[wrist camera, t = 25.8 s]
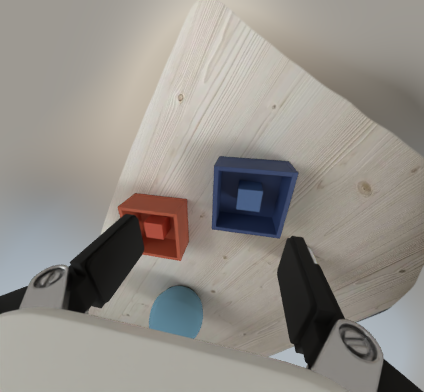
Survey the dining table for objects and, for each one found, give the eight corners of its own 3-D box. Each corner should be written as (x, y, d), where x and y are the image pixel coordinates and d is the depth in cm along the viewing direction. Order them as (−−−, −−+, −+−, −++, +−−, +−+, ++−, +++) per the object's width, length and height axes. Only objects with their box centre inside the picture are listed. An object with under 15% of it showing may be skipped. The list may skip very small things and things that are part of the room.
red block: (155, 226, 45) (146, 237, 41) (152, 212, 43) (143, 222, 39) (170, 228, 45) (163, 239, 41) (169, 214, 43) (161, 224, 39)
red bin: (143, 234, 49) (129, 252, 43) (135, 193, 43) (117, 206, 37) (188, 241, 47) (180, 261, 41) (186, 199, 41) (176, 214, 35)
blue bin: (216, 211, 41) (211, 229, 35) (219, 156, 34) (214, 165, 29) (274, 218, 39) (280, 238, 33) (289, 161, 33) (298, 172, 27)
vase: (216, 303, 58) (198, 421, 36) (182, 312, 65) (149, 417, 43) (185, 273, 53) (143, 386, 32) (152, 286, 60) (98, 388, 38)
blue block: (237, 198, 37) (236, 209, 33) (239, 180, 35) (238, 188, 31) (257, 201, 37) (259, 212, 33) (261, 182, 35) (263, 191, 31)
